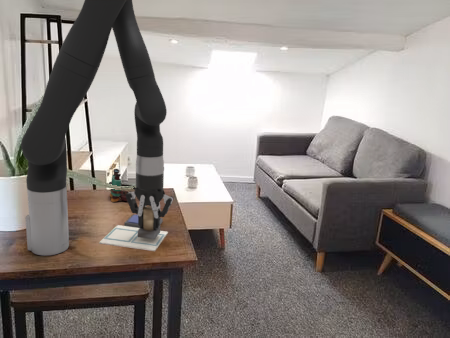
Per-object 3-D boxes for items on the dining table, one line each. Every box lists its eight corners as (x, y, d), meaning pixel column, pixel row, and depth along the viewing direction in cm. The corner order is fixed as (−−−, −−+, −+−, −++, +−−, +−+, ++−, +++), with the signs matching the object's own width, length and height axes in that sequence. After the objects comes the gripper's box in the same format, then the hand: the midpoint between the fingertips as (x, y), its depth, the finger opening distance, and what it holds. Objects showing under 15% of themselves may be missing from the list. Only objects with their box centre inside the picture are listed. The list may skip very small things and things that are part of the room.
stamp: (137, 237, 111) (137, 210, 109) (143, 229, 116) (144, 204, 114) (154, 239, 110) (155, 212, 108) (160, 231, 115) (160, 206, 113)
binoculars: (140, 176, 139) (111, 174, 135) (137, 204, 142) (108, 203, 138) (136, 169, 147) (109, 167, 143) (133, 195, 150) (106, 194, 146)
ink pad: (124, 226, 121) (124, 221, 121) (132, 217, 128) (132, 213, 127) (155, 230, 120) (155, 226, 119) (162, 221, 126) (162, 217, 126)
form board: (99, 243, 109) (99, 241, 109) (117, 226, 121) (117, 224, 121) (154, 251, 107) (154, 249, 107) (167, 232, 119) (167, 231, 118)
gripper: (119, 171, 105) (120, 230, 110) (170, 177, 103) (169, 236, 108) (130, 164, 112) (130, 220, 117) (178, 169, 110) (176, 225, 115)
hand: (149, 227), depth 112 cm, fingers closed on stamp, 3 cm apart
